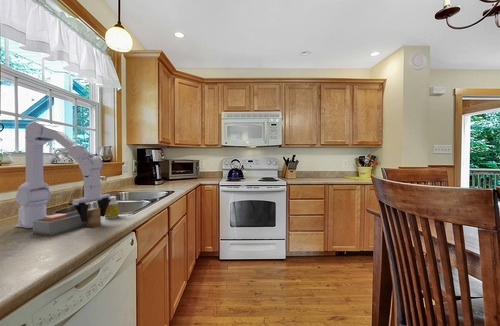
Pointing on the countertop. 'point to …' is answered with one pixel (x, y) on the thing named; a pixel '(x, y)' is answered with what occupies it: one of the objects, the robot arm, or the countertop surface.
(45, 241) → the countertop surface
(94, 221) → the cylinder
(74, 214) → the box
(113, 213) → the supplement bottle
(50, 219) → the cube
